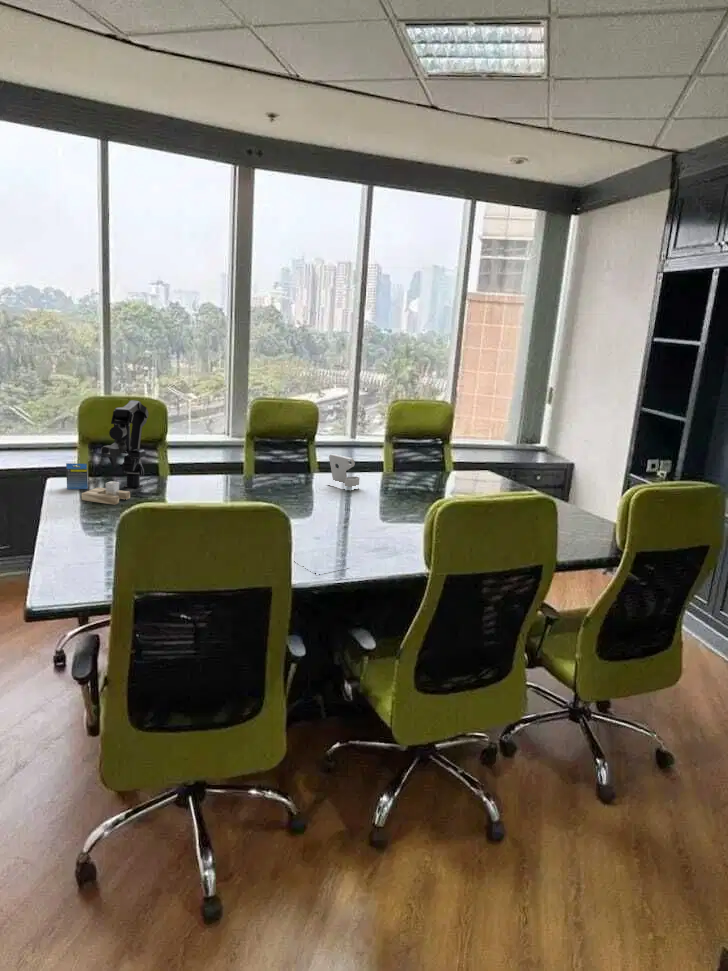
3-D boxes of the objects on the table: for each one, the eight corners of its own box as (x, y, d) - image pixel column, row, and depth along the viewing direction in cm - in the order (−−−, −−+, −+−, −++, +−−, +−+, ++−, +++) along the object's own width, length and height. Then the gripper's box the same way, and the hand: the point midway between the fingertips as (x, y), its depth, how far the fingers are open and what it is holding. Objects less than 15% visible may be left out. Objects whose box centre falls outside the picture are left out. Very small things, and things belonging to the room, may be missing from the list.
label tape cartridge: (88, 487, 283) (88, 461, 280) (87, 489, 280) (87, 463, 277) (67, 487, 280) (67, 461, 277) (66, 489, 277) (65, 463, 274)
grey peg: (111, 498, 269) (110, 481, 267) (119, 499, 268) (119, 482, 266) (105, 500, 265) (105, 483, 263) (114, 501, 264) (113, 484, 263)
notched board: (98, 493, 274) (97, 487, 273) (130, 498, 272) (130, 491, 271) (81, 500, 263) (81, 493, 262) (115, 504, 260) (115, 498, 259)
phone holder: (360, 489, 326) (363, 456, 322) (349, 491, 318) (352, 458, 314) (336, 482, 336) (338, 451, 331) (324, 485, 328) (327, 452, 323)
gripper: (93, 436, 262) (94, 470, 266) (132, 441, 260) (132, 475, 263) (108, 432, 273) (108, 466, 277) (146, 437, 270) (146, 470, 274)
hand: (123, 469), depth 272 cm, fingers open, 9 cm apart
